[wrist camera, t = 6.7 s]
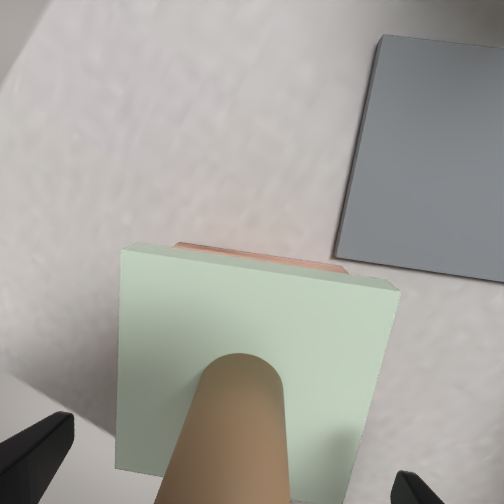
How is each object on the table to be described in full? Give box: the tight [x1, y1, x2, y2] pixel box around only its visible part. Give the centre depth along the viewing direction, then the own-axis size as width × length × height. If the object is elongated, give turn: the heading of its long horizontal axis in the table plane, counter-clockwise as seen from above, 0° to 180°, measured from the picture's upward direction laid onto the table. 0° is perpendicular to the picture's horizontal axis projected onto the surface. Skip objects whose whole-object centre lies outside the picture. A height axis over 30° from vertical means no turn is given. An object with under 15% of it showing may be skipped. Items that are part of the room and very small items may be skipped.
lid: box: [115, 243, 402, 504], centre depth 8 cm, size 9×9×6 cm
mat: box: [334, 34, 504, 282], centre depth 12 cm, size 9×9×1 cm
